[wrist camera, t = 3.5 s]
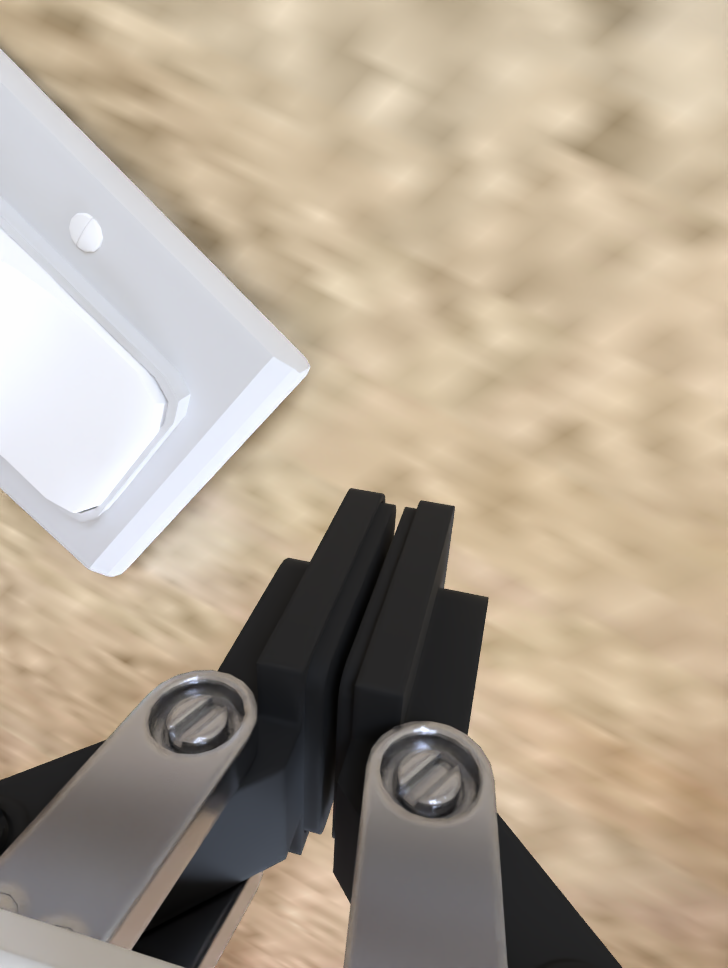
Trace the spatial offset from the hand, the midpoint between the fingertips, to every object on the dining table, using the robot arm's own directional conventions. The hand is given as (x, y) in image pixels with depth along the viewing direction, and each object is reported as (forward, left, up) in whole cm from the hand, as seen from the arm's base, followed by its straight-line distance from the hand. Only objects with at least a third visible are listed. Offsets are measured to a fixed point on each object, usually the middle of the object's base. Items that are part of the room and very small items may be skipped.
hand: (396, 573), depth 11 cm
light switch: (+12, 0, -9) cm, 15 cm away
